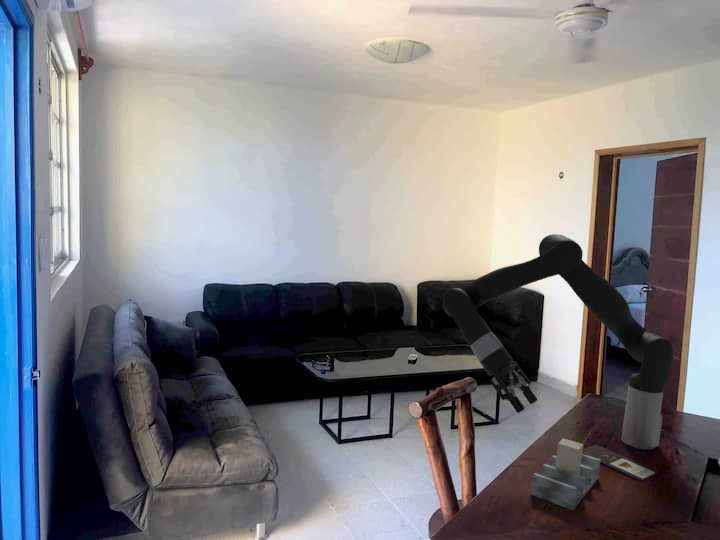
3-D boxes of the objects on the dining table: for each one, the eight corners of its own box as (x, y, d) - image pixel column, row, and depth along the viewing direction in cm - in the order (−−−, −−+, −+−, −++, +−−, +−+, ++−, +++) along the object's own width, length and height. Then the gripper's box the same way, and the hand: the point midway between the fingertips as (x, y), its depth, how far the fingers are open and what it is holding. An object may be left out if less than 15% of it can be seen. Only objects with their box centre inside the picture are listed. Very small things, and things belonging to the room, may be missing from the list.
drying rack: (531, 494, 141) (533, 474, 140) (559, 465, 157) (561, 447, 156) (572, 510, 135) (575, 489, 134) (598, 478, 151) (600, 459, 150)
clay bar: (553, 481, 146) (558, 443, 144) (558, 475, 149) (562, 438, 147) (574, 488, 143) (579, 449, 141) (578, 482, 146) (583, 444, 145)
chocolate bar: (596, 444, 170) (657, 471, 156) (595, 447, 171) (656, 474, 156) (577, 451, 165) (639, 479, 151) (577, 454, 165) (639, 483, 151)
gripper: (489, 351, 148) (528, 407, 143) (512, 341, 159) (549, 392, 154) (468, 366, 152) (506, 421, 147) (492, 355, 163) (527, 406, 158)
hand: (528, 406), depth 150 cm, fingers open, 8 cm apart
